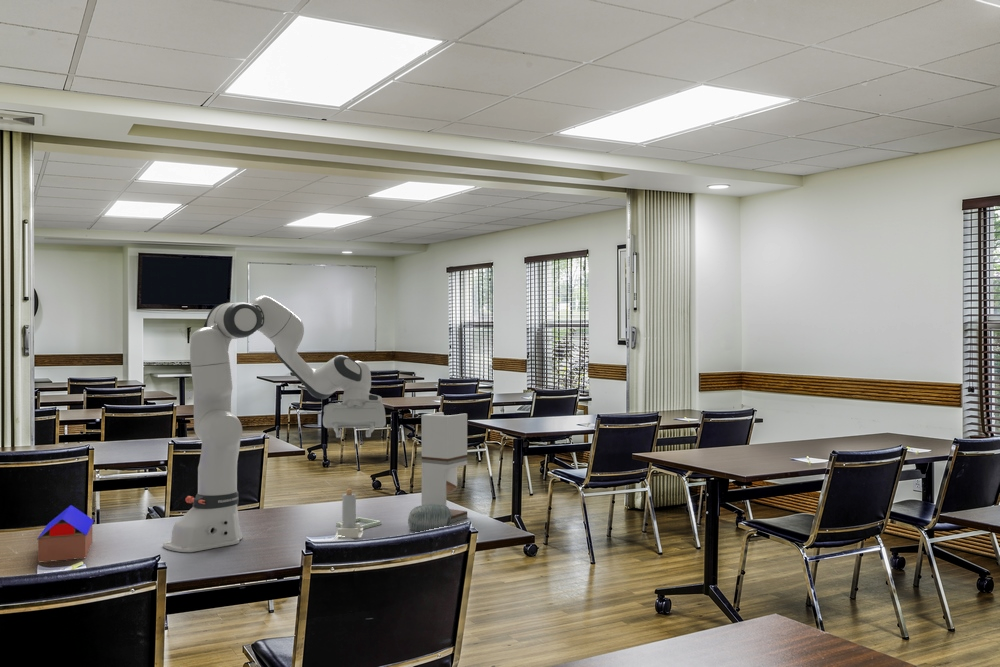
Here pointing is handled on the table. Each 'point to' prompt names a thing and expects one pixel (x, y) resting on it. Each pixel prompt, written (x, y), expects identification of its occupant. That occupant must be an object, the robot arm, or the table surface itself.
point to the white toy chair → (350, 531)
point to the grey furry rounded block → (429, 517)
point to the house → (66, 536)
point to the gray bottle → (349, 509)
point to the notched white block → (442, 457)
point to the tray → (370, 521)
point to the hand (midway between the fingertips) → (353, 436)
